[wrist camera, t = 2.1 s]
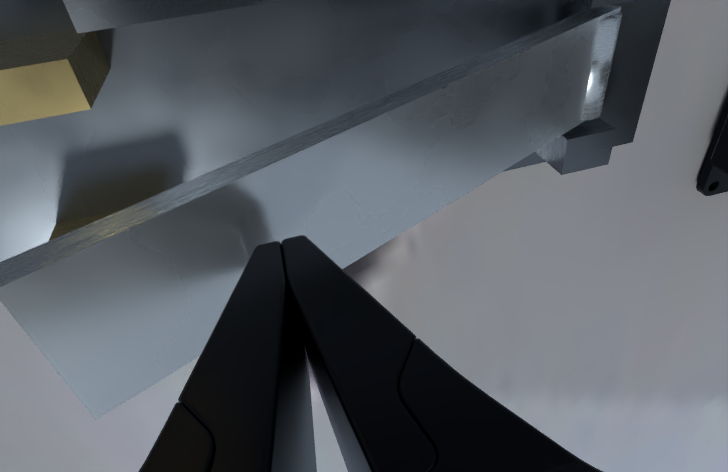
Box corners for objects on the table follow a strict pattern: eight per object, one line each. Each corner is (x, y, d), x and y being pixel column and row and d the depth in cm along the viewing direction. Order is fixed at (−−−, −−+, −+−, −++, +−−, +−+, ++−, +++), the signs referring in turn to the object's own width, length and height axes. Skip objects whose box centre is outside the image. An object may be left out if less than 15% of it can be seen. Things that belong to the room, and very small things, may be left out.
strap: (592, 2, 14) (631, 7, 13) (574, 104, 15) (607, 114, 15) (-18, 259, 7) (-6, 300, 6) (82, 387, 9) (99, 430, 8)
